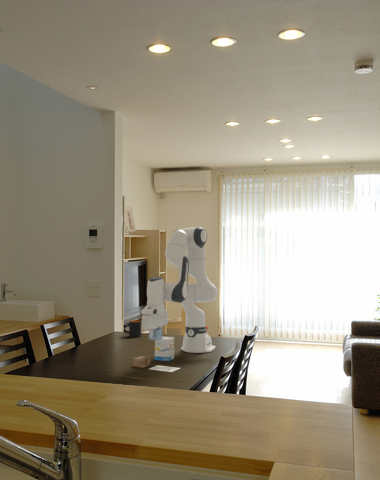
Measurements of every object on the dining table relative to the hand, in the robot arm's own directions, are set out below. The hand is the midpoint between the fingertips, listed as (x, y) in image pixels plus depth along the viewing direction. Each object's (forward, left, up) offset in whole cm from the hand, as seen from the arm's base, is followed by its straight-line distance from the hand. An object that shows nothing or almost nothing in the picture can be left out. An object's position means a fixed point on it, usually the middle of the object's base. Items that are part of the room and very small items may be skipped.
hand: (155, 336), depth 247 cm
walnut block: (+10, -2, -14) cm, 17 cm away
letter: (+10, +11, -14) cm, 20 cm away
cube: (0, 0, -2) cm, 2 cm away
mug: (-64, -58, -14) cm, 88 cm away
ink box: (-10, 0, -14) cm, 17 cm away
